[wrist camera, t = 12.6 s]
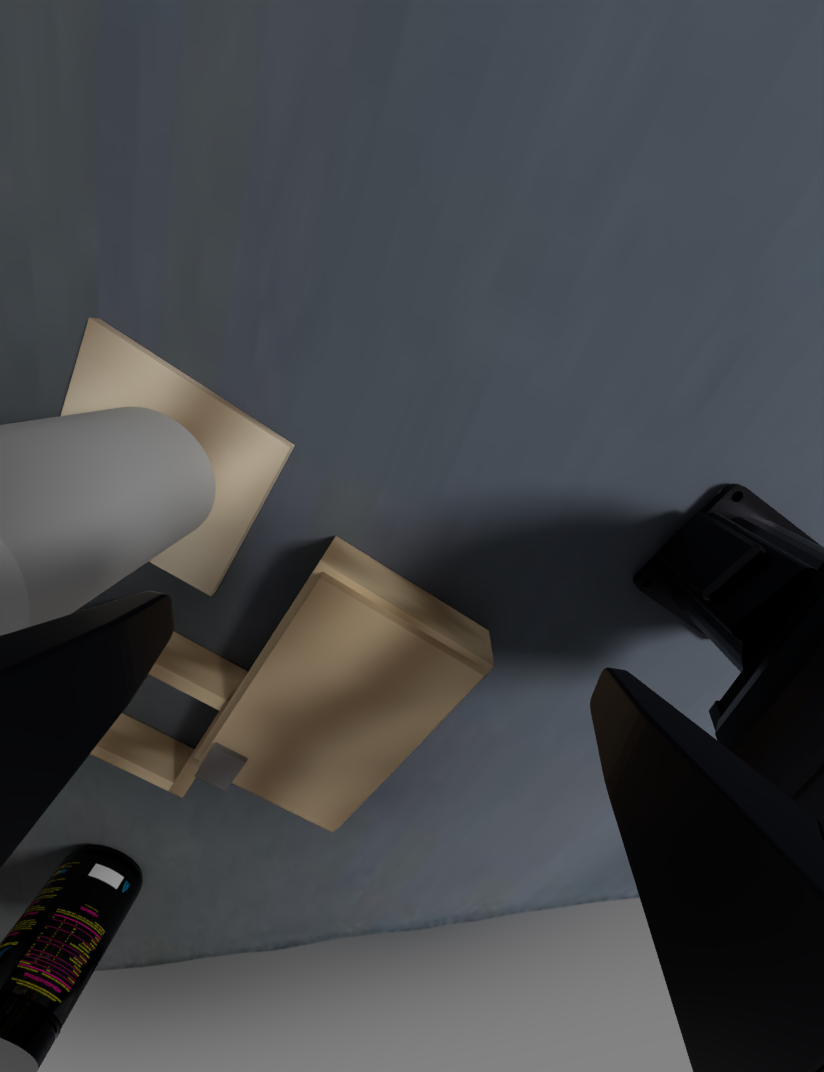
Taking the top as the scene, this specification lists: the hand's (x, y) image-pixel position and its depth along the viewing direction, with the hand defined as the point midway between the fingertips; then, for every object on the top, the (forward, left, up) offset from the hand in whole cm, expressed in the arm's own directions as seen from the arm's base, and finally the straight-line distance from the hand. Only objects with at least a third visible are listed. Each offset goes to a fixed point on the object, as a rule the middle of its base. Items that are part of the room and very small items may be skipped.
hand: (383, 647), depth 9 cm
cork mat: (+11, +7, -13) cm, 18 cm away
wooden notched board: (+1, +15, -13) cm, 20 cm away
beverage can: (+11, +7, -13) cm, 18 cm away
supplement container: (+3, +43, -13) cm, 45 cm away
